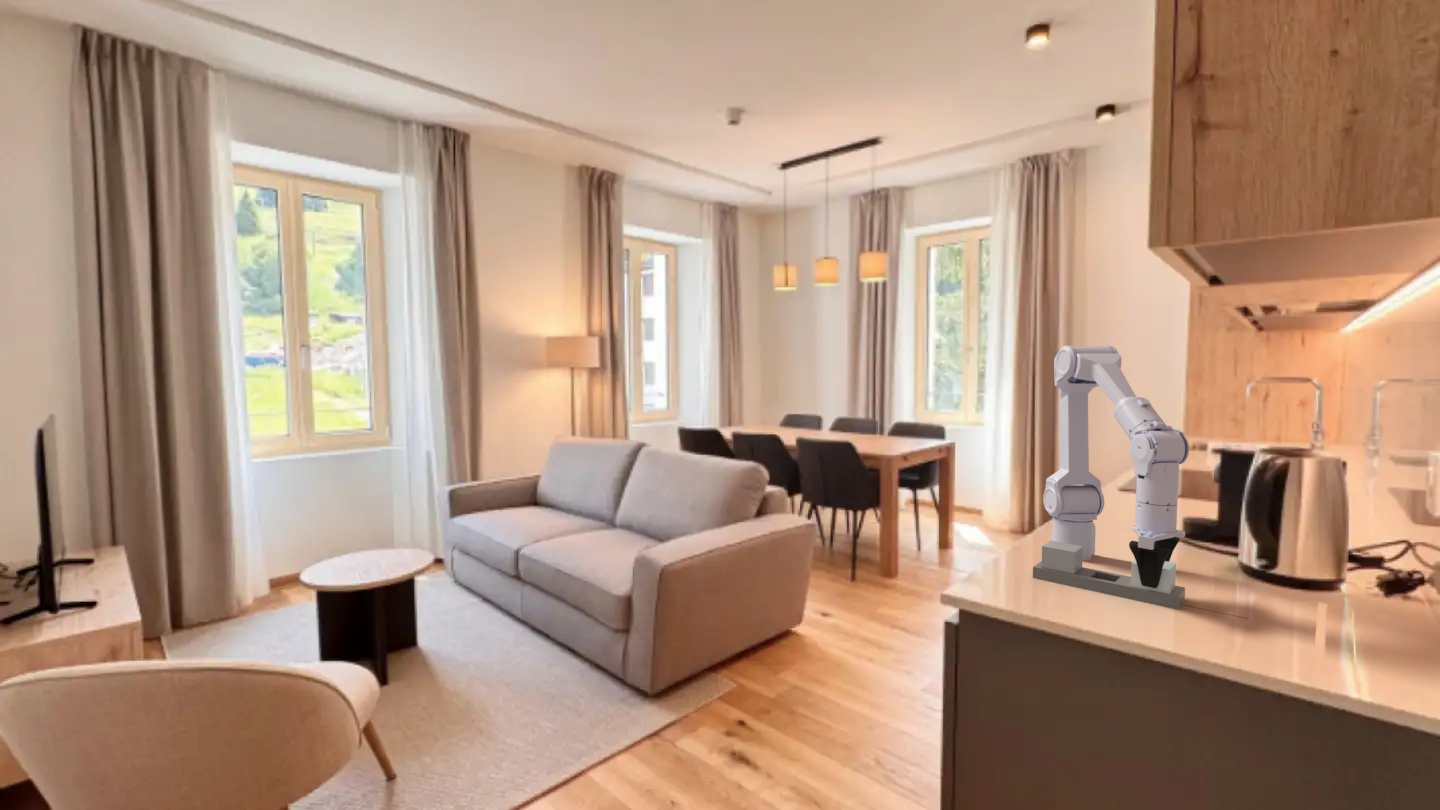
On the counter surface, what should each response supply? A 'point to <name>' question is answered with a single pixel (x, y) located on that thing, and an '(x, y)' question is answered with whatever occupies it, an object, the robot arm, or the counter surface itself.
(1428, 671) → the counter surface
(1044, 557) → the power strip
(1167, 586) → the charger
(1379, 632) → the counter surface
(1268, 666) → the counter surface
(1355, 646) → the counter surface
